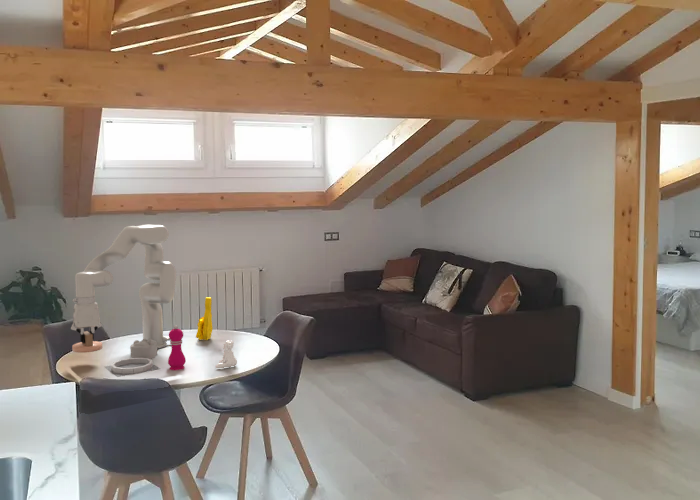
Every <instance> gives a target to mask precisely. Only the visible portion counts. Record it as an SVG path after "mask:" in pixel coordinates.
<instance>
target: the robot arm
mask: <svg viewBox="0 0 700 500" xmlns="http://www.w3.org/2000/svg"><path fill="white" fill-rule="evenodd" d="M168 238H169V230H168V228H167V227H166V226H165V225H161V224H140V225H136V226H135V225H128V226H125V227H123V229H122V230H121V231H120V232H119V234H118V235H117V236H116V238H115V239H114V240H113V242H112V243H111V245H110V246H109V248H107V249H106V250H104V251H102V252H101V253H99V254H98V255H96V256H95V257H93V259H91V260H90V261H89V263H88V264H87V265H86V267H85V268H84V270H83V271H80V272H77V273H76V274H75V298H73V299H72V303H75V304H74V306H73V317H72V318H73V319H72V324H71V327H70V330H72V331H76V332H77V333H79V336H80V338H79V339H80V342H82V343H83V344H84V343H85V334H84V332H85V330H84V329H85V328H89V331H88V332H89V333H91V334H92V335H93V341H94V340H95V336H94V334H95V333H96V331H97V330H98V329H99V328H101V327H102V326H103V324H102V323H101V319H100V318H101V315H100V309H99V306H98V305H99V304H98V302H96V293H95V290H96V288H105V287H108V286H110V285H111V284H112V283H113V282H114V281H113V280H114V277H113V274H112V273H111V272H110V271H108V270H105V269H106V268H107V267H110V266H112V265H115V264H119V263H120V262H124V260H126V258H127V257H128V256H129V254H130V252H131V251H132V250H133V248H134V247H135V246H136V245H140V246H143V247H144V250H145V251H144V253H145V256H144V257H145V258H144V270H143V273H144V277H145V278H146V279H148V280H153V281H159V282H146V283H144V284H142V285H141V286H140V287H139V290H138V296H139V300H140V303H141V314H142V315H141V318H142V340H143V339H147V340H149V339H152V340H153V341H156V342H157V350H158V349H163V348H165V347H167V345H168V343H167V342H168V341H169V342H170V341H171V339H170V338H169V335H168V336H165V335H164V325H163V324H164V323H163V322H164V321H163V320H164V319H163V318H164V317H163V316H164V315H163V308H162V305H161V304H169V303H172V301H173V300H174V297H175V291H176V279H177V271H176V267H175V265H174V264H173V263H172V262H170V261H166V260H165V261H164V247H163V245H162V244H163V243H165V242H166V241H167V240H168Z"/></svg>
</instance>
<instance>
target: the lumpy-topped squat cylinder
mask: <svg viewBox="0 0 700 500" xmlns="http://www.w3.org/2000/svg"><path fill="white" fill-rule="evenodd" d="M157 356H158V349H157V342H156V341H153V340H152V339H149V340H147V339H143V338H142V339H141V340H137V339H136V340H134V341H133V343H132V344H131V345H130V358H147V359H151V360H153V358H155V357H157Z"/></svg>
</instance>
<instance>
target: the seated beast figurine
mask: <svg viewBox="0 0 700 500" xmlns="http://www.w3.org/2000/svg"><path fill="white" fill-rule="evenodd" d="M234 344H235V341H234V340H229V339H227V340H225V343H224V344H223V347H222V349H223V354H222V359H221V360H219V362H218V364H215V369H216V368H224V367H231V366H235V365H236V366H237V364H238V361H237V358H236V357H235V355H234V351H233V348H234ZM236 366H235V367H236Z"/></svg>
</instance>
